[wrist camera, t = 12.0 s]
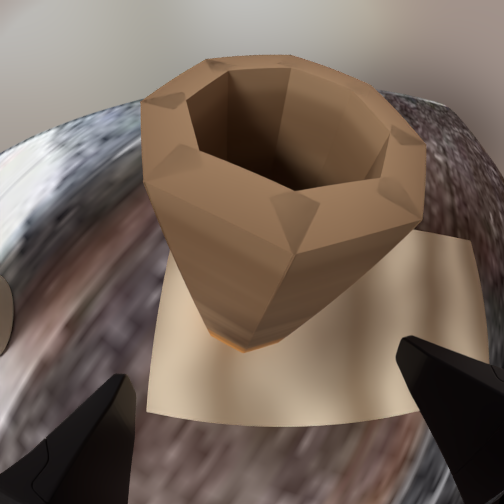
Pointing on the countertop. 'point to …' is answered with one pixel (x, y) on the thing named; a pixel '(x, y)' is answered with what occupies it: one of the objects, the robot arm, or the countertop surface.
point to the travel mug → (5, 313)
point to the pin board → (323, 345)
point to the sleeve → (276, 188)
